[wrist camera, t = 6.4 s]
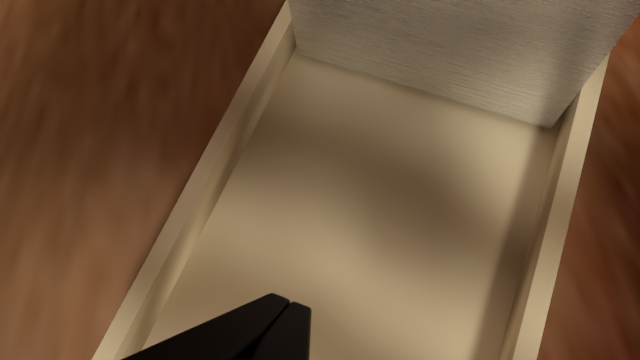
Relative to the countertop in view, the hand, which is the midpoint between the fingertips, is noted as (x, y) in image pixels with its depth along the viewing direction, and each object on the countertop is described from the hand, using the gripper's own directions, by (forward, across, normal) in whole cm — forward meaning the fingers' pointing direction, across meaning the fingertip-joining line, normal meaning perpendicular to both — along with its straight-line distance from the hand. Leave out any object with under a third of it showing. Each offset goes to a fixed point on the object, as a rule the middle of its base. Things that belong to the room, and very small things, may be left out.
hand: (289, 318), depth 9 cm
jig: (+10, 0, +2) cm, 10 cm away
